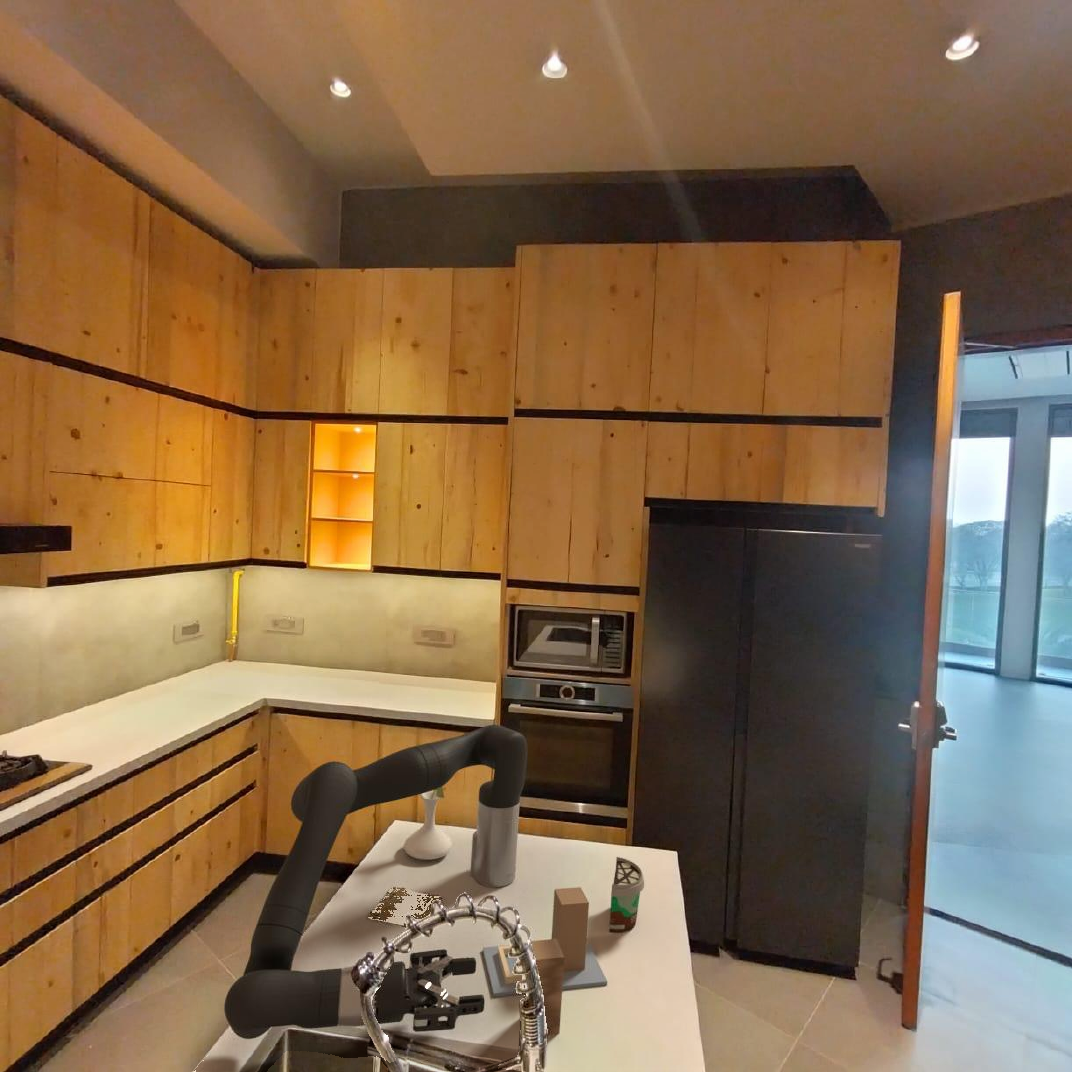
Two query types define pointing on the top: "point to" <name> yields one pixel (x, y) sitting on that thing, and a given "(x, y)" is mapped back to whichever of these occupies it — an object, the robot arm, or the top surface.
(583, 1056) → the top surface
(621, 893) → the food container
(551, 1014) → the walnut pillar
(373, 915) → the cookie
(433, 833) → the flower in vase
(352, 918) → the top surface
